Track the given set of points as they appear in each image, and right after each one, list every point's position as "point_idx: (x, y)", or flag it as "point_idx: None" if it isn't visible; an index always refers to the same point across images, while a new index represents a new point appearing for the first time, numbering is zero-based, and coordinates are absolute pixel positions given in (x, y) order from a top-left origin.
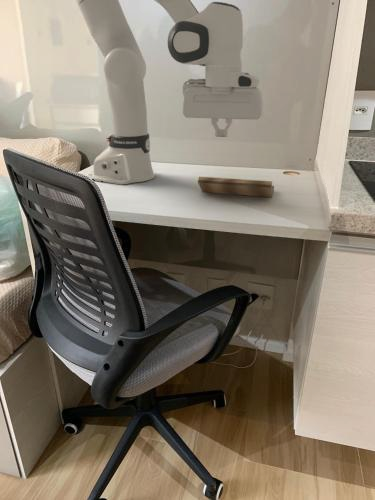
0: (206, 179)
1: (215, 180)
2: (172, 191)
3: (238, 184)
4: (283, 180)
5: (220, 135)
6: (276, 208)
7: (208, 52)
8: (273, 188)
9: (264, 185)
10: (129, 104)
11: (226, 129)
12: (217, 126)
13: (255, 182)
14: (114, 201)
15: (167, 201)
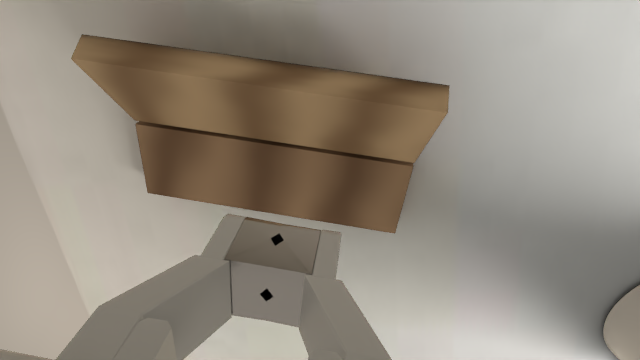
0: (402, 93)
1: (354, 85)
2: (546, 163)
3: (236, 56)
4: None
5: (285, 226)
6: None
7: None
8: (144, 168)
9: (112, 43)
10: None
11: (196, 259)
12: (312, 340)
13: (151, 59)
14: None
15: (589, 16)
